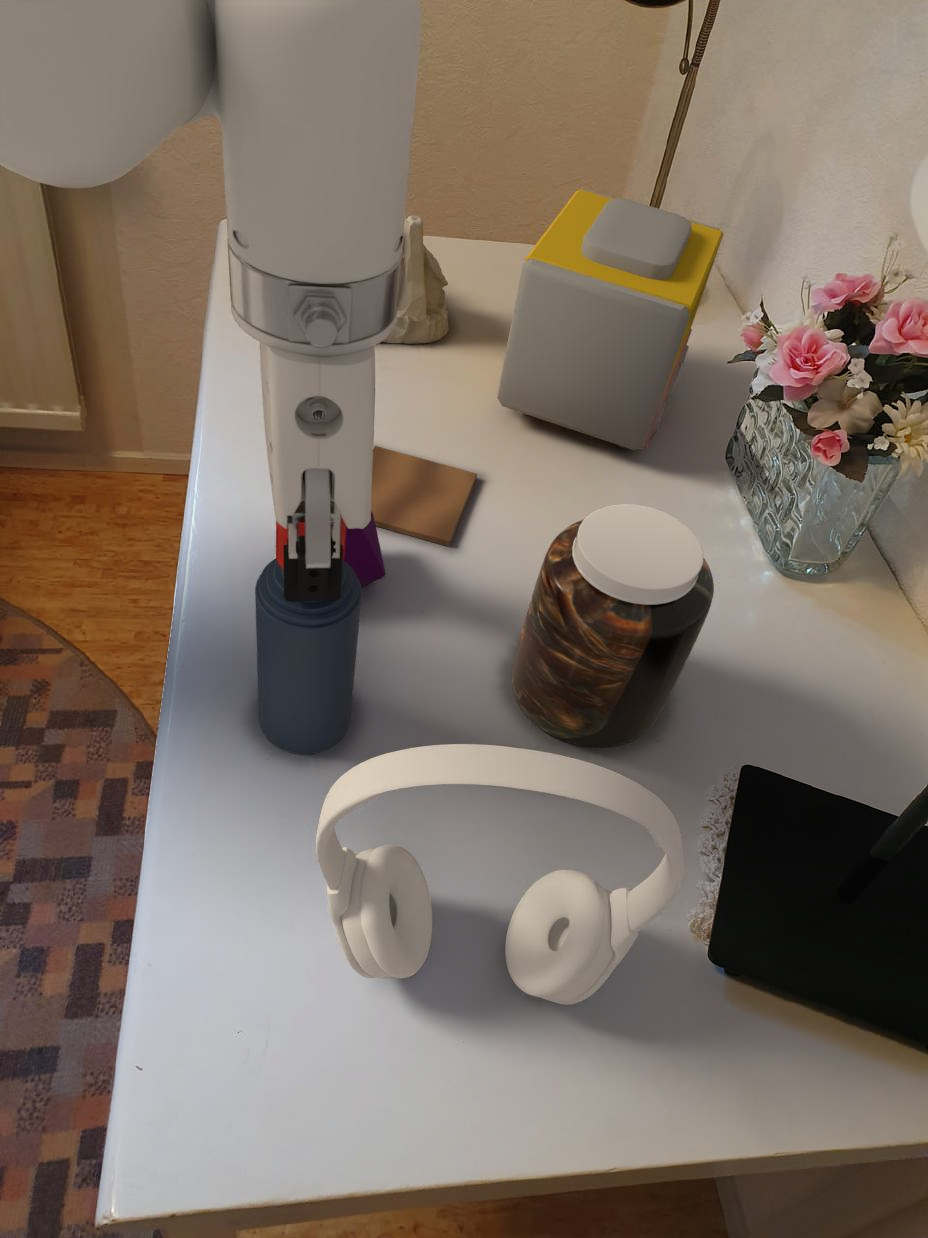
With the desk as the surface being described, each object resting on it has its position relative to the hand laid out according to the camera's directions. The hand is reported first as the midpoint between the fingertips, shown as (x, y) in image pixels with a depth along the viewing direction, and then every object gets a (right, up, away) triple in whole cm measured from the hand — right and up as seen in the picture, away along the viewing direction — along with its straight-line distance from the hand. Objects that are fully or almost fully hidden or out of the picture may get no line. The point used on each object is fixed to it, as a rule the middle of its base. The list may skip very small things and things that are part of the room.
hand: (310, 568), depth 55 cm
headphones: (+9, -23, +1) cm, 25 cm away
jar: (+18, -8, +16) cm, 26 cm away
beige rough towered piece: (-1, +32, +50) cm, 59 cm away
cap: (0, +1, -1) cm, 1 cm away
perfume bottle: (-2, +1, +21) cm, 21 cm away
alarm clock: (+22, +20, +43) cm, 53 cm away
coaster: (+4, +8, +28) cm, 30 cm away
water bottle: (-2, -10, +11) cm, 15 cm away
